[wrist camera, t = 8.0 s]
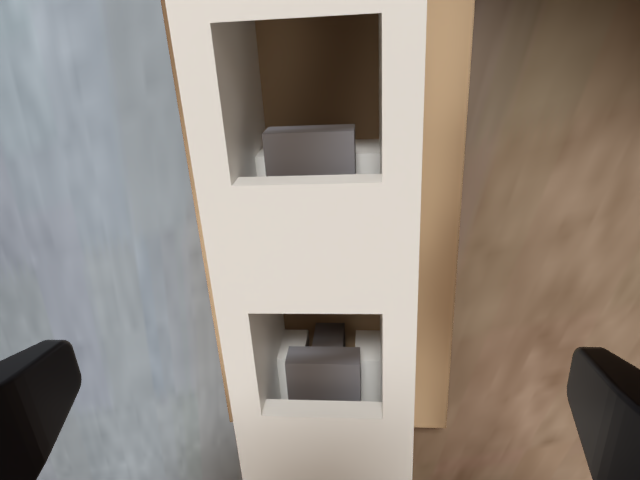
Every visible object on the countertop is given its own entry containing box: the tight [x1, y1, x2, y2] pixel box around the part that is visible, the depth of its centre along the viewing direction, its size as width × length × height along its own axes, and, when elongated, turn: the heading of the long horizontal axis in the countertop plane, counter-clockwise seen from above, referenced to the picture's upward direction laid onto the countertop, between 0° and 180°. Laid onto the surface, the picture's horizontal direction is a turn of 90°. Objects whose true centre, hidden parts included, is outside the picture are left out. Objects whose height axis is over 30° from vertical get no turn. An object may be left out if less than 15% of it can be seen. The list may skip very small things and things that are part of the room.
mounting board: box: [161, 0, 475, 428], centre depth 18 cm, size 10×20×5 cm, turn 3°
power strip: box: [165, 0, 427, 480], centre depth 16 cm, size 18×6×5 cm, turn 3°
